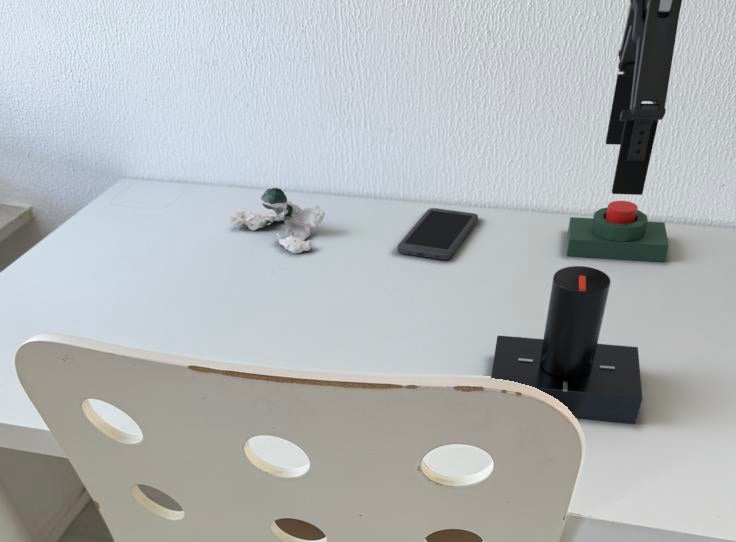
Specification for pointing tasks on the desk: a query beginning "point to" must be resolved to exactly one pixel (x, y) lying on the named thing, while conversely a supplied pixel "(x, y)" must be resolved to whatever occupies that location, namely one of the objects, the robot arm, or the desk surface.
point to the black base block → (583, 394)
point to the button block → (617, 238)
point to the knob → (574, 321)
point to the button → (621, 212)
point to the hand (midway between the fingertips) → (622, 167)
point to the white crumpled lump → (283, 219)
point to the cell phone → (438, 233)
